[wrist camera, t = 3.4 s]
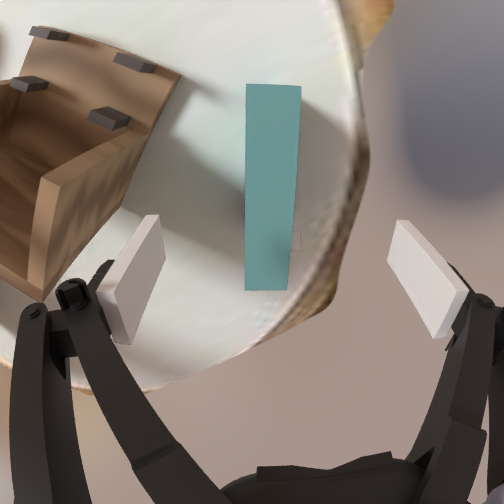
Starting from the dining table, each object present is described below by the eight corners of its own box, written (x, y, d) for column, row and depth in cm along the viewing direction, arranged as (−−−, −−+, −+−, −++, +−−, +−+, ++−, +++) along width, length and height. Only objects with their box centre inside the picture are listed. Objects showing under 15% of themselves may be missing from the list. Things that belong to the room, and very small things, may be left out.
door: (244, 226, 35) (244, 290, 25) (246, 86, 27) (245, 84, 17) (287, 226, 35) (303, 290, 25) (294, 87, 27) (322, 88, 17)
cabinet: (119, 207, 34) (41, 303, 18) (6, 147, 28) (-90, 201, 13) (181, 74, 26) (104, 65, 11) (46, 26, 21) (-66, 22, 5)
